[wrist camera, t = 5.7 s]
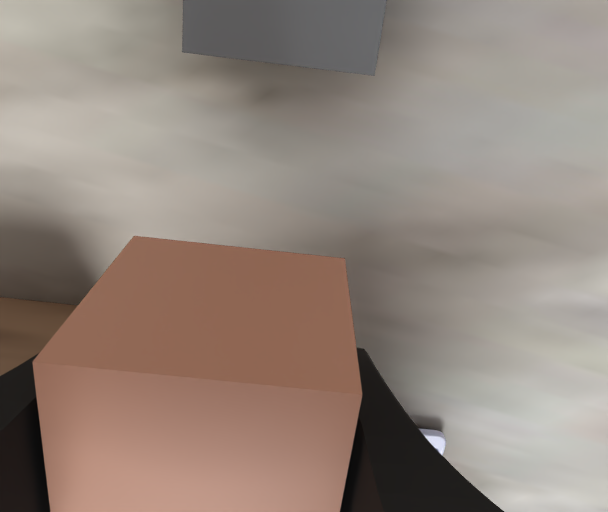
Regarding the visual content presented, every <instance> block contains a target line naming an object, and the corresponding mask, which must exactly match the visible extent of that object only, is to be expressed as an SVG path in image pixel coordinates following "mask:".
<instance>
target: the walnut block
mask: <svg viewBox="0 0 608 512" xmlns="http://www.w3.org/2000/svg"><path fill="white" fill-rule="evenodd" d="M77 306H78V305H70V304H61V303H51V302H42V301H32V300H23V299H13V298H4V297H0V376H1V375H3V374H5V373H6V372H8V371H10V370H12V369H13V368H15V367H17V366H19V365H20V364H22V363H24V362H25V361H27V360H28V359H30V358H32V357H33V356H35V355H37V354H38V353H40V352H41V351H42V349H43V348H44V347H45V346H46V344H47V343H48V342H49V341H50V339H51V338H52V337H53V336H54V334H55V333H56V332H57V331H58V330H59V328H60V327H61V326H62V325H63V323H64V322H65V321H66V320H67V318H68V317H69V316H70V315H71V313H72V312H73V311H74V310H75V308H76V307H77Z"/></svg>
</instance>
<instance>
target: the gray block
mask: <svg viewBox="0 0 608 512" xmlns="http://www.w3.org/2000/svg"><path fill="white" fill-rule="evenodd" d="M386 2H387V0H183V43H182V52H184V53H192V54H200V55H208V56H216V57H225V58H233V59H241V60H249V61H257V62H265V63H274V64H282V65H290V66H298V67H306V68H314V69H322V70H331V71H339V72H347V73H355V74H363V75H371V76H375V70H376V64H377V58H378V51H379V45H380V39H381V33H382V27H383V20H384V14H385V8H386Z"/></svg>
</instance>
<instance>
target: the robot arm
mask: <svg viewBox="0 0 608 512" xmlns="http://www.w3.org/2000/svg"><path fill="white" fill-rule="evenodd" d="M356 349H357V357H358V364H359V372H360V380H361V388H362V399H361V404H360V410H359V415H358V420H357V425H356V430H355V436H354V441H353V446H352V451H351V456H350V461H349V467H348V472H347V477H346V482H345V487H344V492H343V498H342V503H341V508H340V512H504V511H503V510H501V509H500V508H499V507H498V506H496V505H495V504H494V503H493V502H492V501H490V500H489V499H488V498H487V497H486V496H485V495H483V494H482V493H481V492H480V491H479V490H478V489H477V488H475V487H474V486H473V485H472V484H471V483H470V482H469V481H467V480H466V479H465V478H464V477H463V476H462V475H461V474H460V473H459V472H458V471H457V470H456V469H455V468H454V467H453V466H452V465H451V464H450V463H449V462H448V461H447V460H446V459H445V458H444V457H443V453H444V449H445V446H446V439H445V436H444V434H443V433H442V432H441V431H437V430H429V429H419V428H418V427H417V426H416V425H415V424H414V422H413V421H412V420H411V418H410V417H409V416H408V414H407V413H406V412H405V410H404V409H403V408H402V406H401V405H400V403H399V402H398V401H397V399H396V398H395V396H394V395H393V394H392V392H391V391H390V389H389V388H388V386H387V384H386V383H385V381H384V380H383V378H382V377H381V375H380V373H379V372H378V370H377V369H376V367H375V365H374V364H373V362H372V360H371V358H370V357H369V355H368V353H367V352H366V351H365V350H364V349H361V348H356ZM38 354H39V353H38ZM38 354H37V355H35V356H33V357H32V358H30V359H28V360H27V361H25V362H24V363H22V364H20V365H19V366H17V367H15V368H13V369H12V370H10V371H8V372H6V373H5V374H3V375H1V376H0V512H50V504H49V495H48V487H47V479H46V471H45V462H44V454H43V446H42V438H41V429H40V421H39V413H38V405H37V396H36V388H35V380H34V372H33V363H32V362H33V361H34V359H35V358H36V357H37V356H38ZM435 448H436V449H435Z"/></svg>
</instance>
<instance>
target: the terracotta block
mask: <svg viewBox="0 0 608 512" xmlns="http://www.w3.org/2000/svg"><path fill="white" fill-rule="evenodd" d="M32 363H33V372H34V380H35V388H36V396H37V405H38V413H39V421H40V429H41V438H42V446H43V454H44V462H45V471H46V479H47V487H48V495H49V504H50V512H340V508H341V503H342V498H343V492H344V487H345V482H346V477H347V472H348V467H349V461H350V456H351V451H352V446H353V441H354V436H355V430H356V425H357V420H358V415H359V410H360V404H361V399H362V388H361V380H360V372H359V364H358V357H357V349H356V341H355V333H354V326H353V318H352V310H351V302H350V295H349V287H348V279H347V271H346V264H345V258H336V257H327V256H318V255H308V254H299V253H289V252H280V251H271V250H261V249H252V248H243V247H233V246H224V245H215V244H205V243H196V242H186V241H177V240H168V239H158V238H149V237H140V236H133V238H132V239H131V240H130V241H129V243H128V244H127V245H126V246H125V248H124V249H123V250H122V251H121V253H120V254H119V255H118V256H117V258H116V259H115V260H114V261H113V263H112V264H111V265H110V266H109V268H108V269H107V270H106V271H105V272H104V274H103V275H102V276H101V277H100V279H99V280H98V281H97V282H96V284H95V285H94V286H93V287H92V289H91V290H90V291H89V292H88V294H87V295H86V296H85V297H84V299H83V300H82V301H81V302H80V303H79V305H78V306H77V307H76V308H75V310H74V311H73V312H72V313H71V315H70V316H69V317H68V318H67V320H66V321H65V322H64V323H63V325H62V326H61V327H60V328H59V330H58V331H57V332H56V333H55V334H54V336H53V337H52V338H51V339H50V341H49V342H48V343H47V344H46V346H45V347H44V348H43V349H42V351H41V352H40V353H39V354H38V356H37V357H36V358H35V359H34V361H33V362H32Z"/></svg>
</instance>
